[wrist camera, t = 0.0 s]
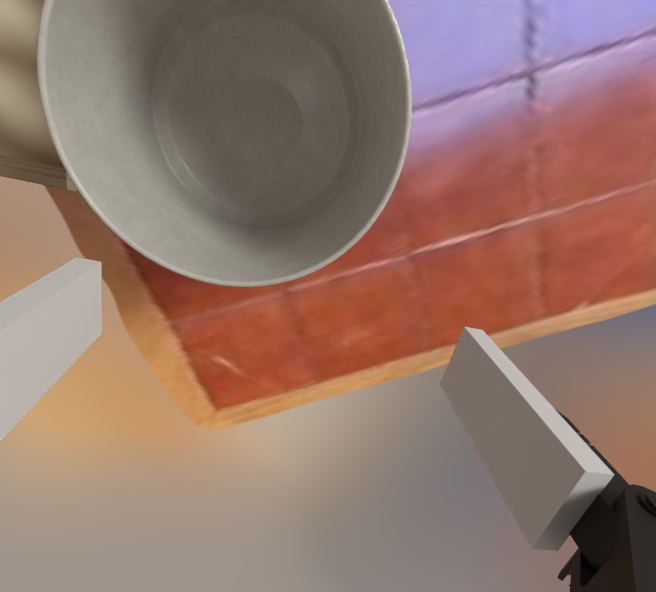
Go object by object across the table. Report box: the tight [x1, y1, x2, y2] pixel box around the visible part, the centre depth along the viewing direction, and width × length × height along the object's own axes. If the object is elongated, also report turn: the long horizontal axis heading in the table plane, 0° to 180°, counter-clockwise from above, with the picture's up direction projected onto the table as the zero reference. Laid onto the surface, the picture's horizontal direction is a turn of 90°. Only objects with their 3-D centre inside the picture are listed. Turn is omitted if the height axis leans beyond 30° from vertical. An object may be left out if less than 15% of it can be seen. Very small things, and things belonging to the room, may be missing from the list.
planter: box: [36, 0, 412, 287], centre depth 28 cm, size 19×19×18 cm
